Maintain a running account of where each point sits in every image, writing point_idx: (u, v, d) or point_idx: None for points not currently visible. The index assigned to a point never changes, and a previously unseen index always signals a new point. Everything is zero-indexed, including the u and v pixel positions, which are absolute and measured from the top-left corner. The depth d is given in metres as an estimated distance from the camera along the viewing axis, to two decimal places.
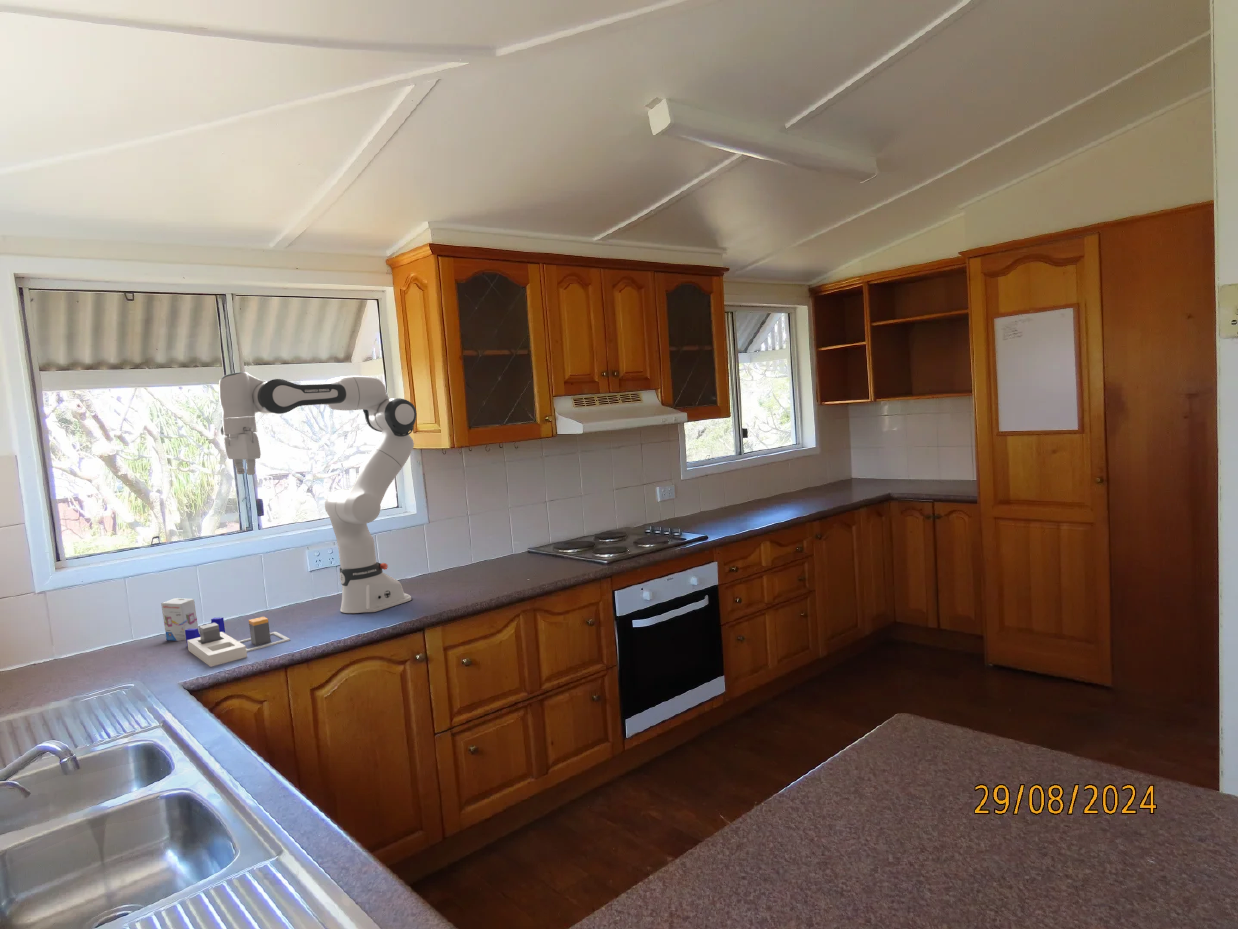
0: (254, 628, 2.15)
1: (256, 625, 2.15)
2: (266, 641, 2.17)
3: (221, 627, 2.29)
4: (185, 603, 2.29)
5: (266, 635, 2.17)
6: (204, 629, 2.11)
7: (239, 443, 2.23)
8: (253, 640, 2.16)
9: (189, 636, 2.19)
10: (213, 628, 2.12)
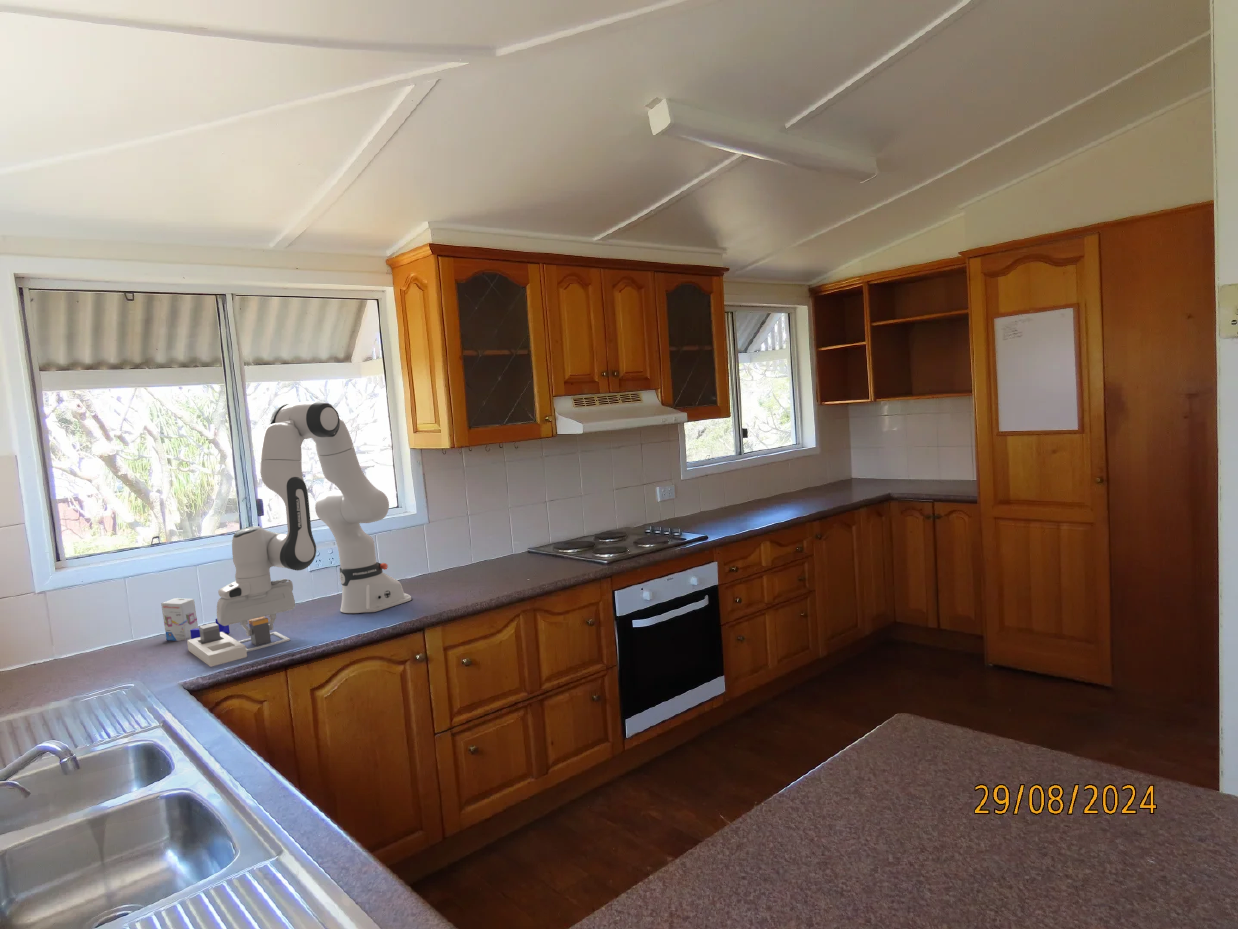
0: (254, 628, 2.15)
1: (256, 625, 2.15)
2: (266, 641, 2.17)
3: (226, 627, 2.29)
4: (185, 603, 2.29)
5: (266, 635, 2.17)
6: (204, 629, 2.11)
7: (269, 599, 2.18)
8: (253, 640, 2.16)
9: (195, 636, 2.19)
10: (213, 628, 2.12)
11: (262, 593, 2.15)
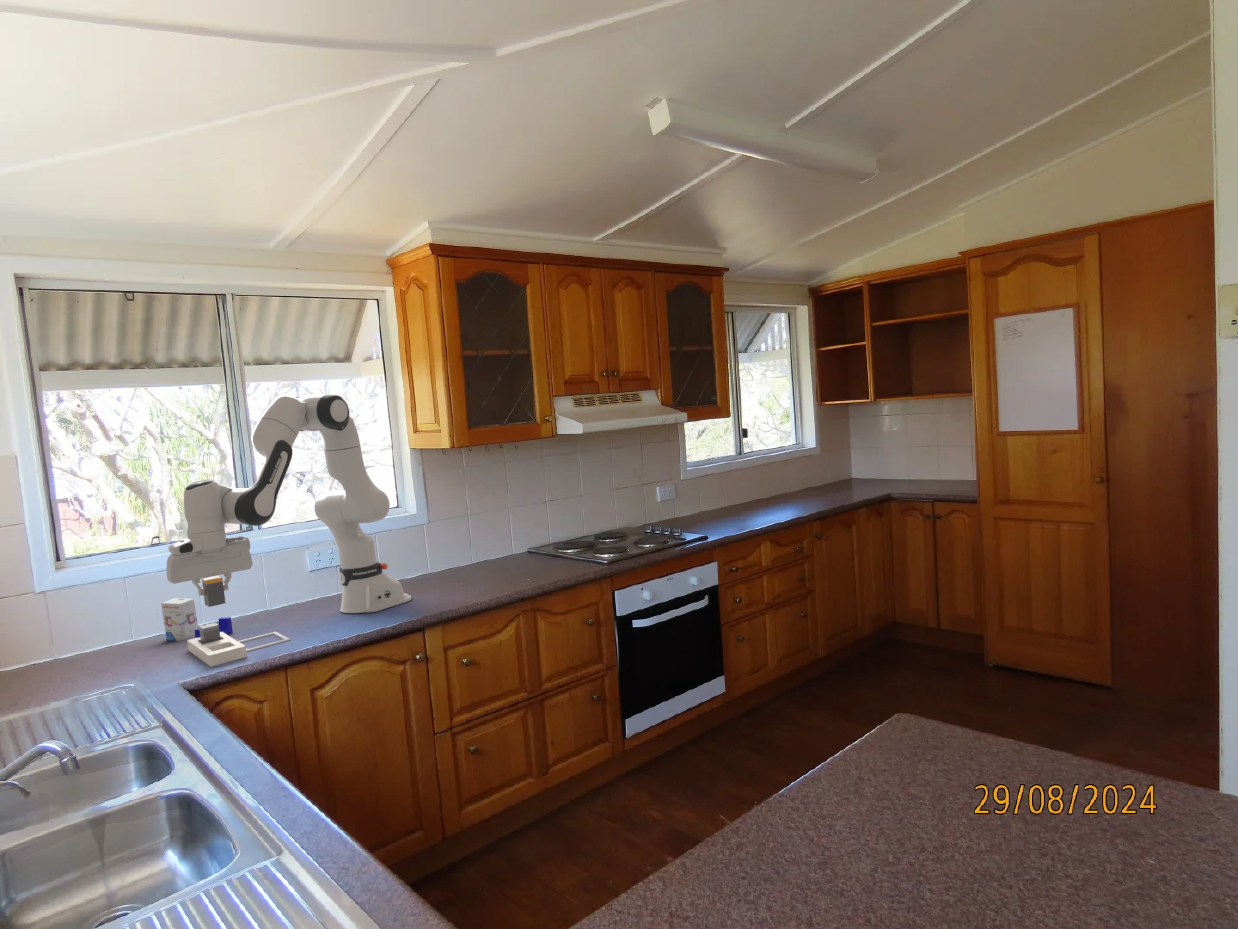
0: (207, 587, 2.02)
1: (209, 584, 2.02)
2: (220, 601, 2.04)
3: (229, 627, 2.29)
4: (185, 603, 2.29)
5: (220, 594, 2.04)
6: (204, 629, 2.11)
7: (223, 557, 2.05)
8: (206, 600, 2.03)
9: (199, 635, 2.18)
10: (213, 628, 2.12)
11: (216, 550, 2.02)
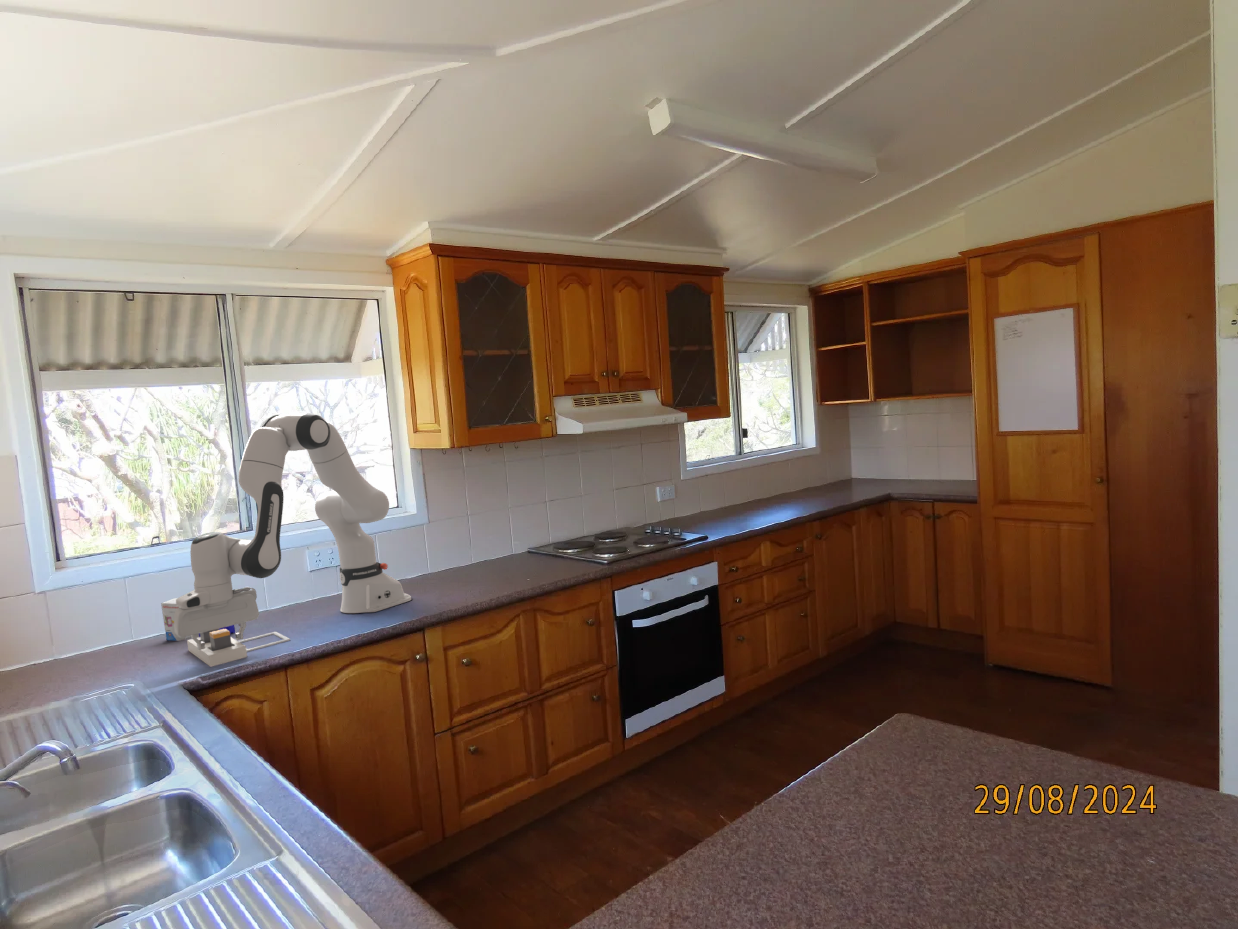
0: (214, 641, 2.03)
1: (217, 638, 2.04)
2: None
3: (231, 626, 2.29)
4: None
5: None
6: None
7: (230, 608, 2.06)
8: None
9: None
10: None
11: (223, 602, 2.04)
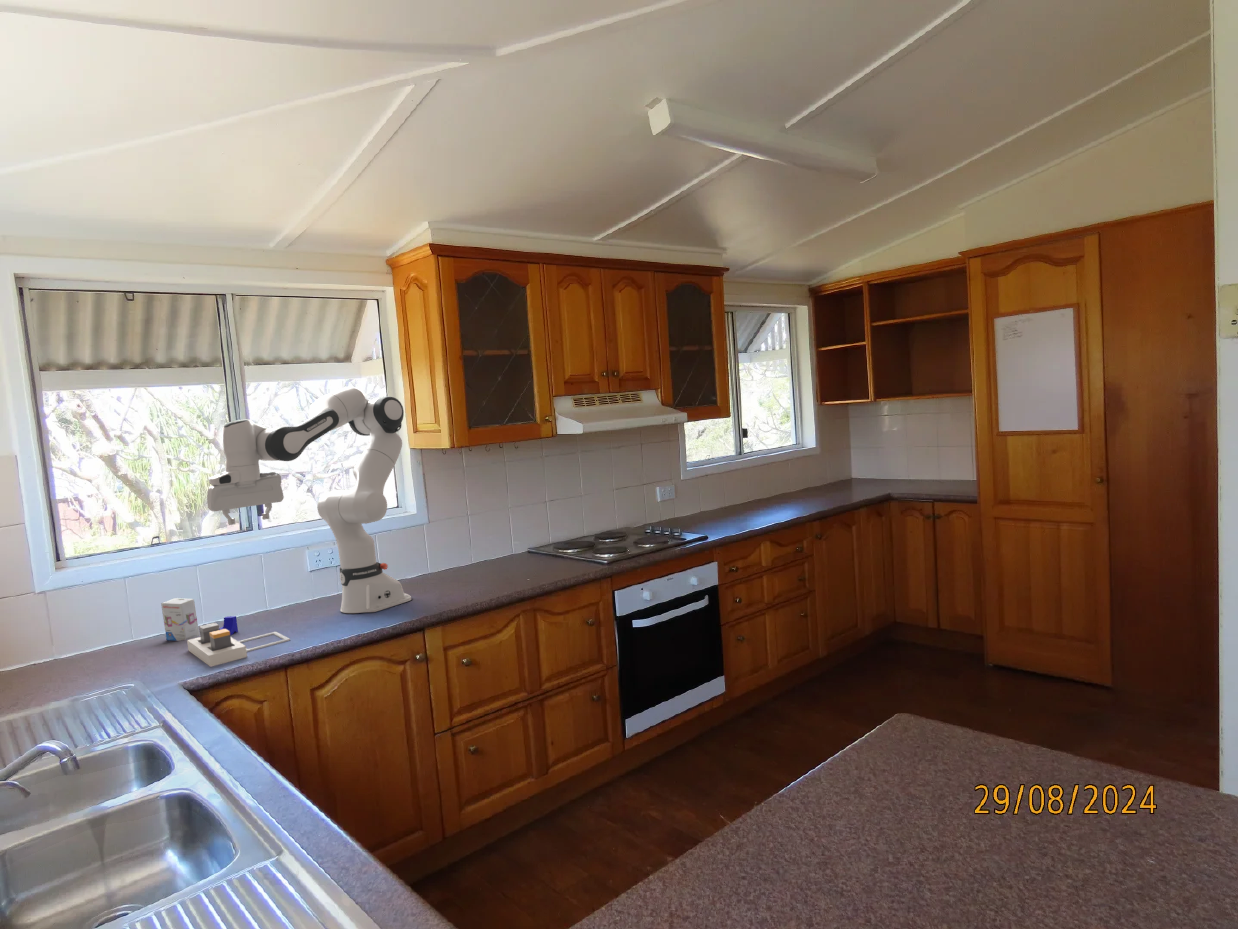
0: (214, 641, 2.03)
1: (217, 638, 2.04)
2: None
3: (234, 626, 2.30)
4: (185, 603, 2.29)
5: None
6: (204, 629, 2.11)
7: (258, 489, 2.26)
8: None
9: None
10: (213, 628, 2.12)
11: (251, 482, 2.23)
